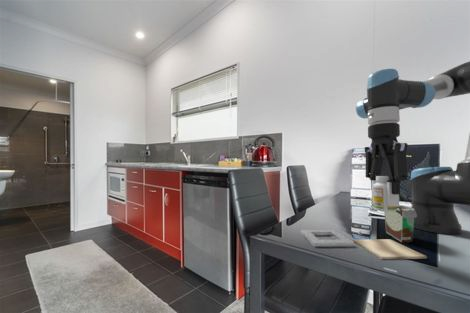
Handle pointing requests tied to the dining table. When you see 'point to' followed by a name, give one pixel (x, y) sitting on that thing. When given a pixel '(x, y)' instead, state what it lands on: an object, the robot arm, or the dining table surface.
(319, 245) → the grey square frame
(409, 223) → the food container
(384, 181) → the supplement bottle
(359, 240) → the oak pad
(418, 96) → the robot arm
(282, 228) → the dining table surface
